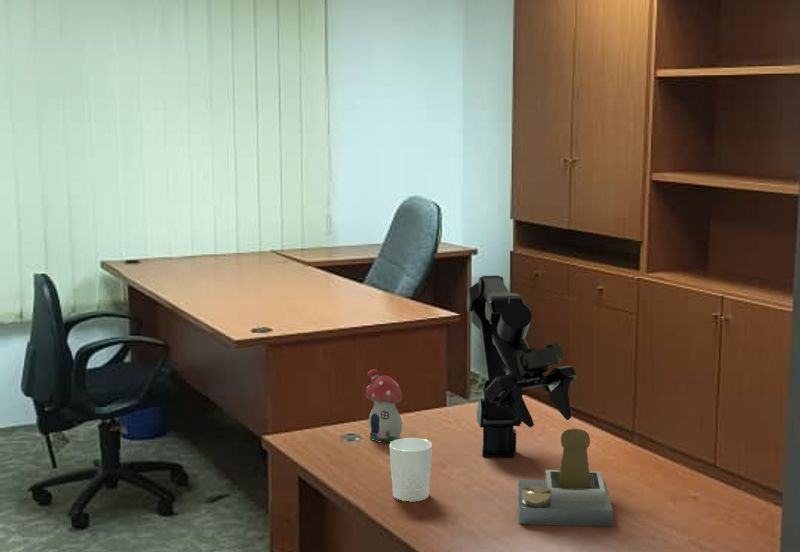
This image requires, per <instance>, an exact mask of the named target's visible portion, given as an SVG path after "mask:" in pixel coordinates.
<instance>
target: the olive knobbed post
mask: <svg viewBox="0 0 800 552" xmlns="http://www.w3.org/2000/svg"><path fill="white" fill-rule="evenodd" d="M590 437H591V436H590V434H589V433H588V432H587V431H586V430H583V429H580V428H579V429H578V428H569V429H566V430H563V432H562V433H561V436H560V444H561V446H562V447H563V451H562V457H561V463H560V469H559V470H560V476H559V482H558V488H580V489H591V483H590V475H589V471H590V468H589V459H588V448H589V447H590V443H591V438H590Z"/></svg>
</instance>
